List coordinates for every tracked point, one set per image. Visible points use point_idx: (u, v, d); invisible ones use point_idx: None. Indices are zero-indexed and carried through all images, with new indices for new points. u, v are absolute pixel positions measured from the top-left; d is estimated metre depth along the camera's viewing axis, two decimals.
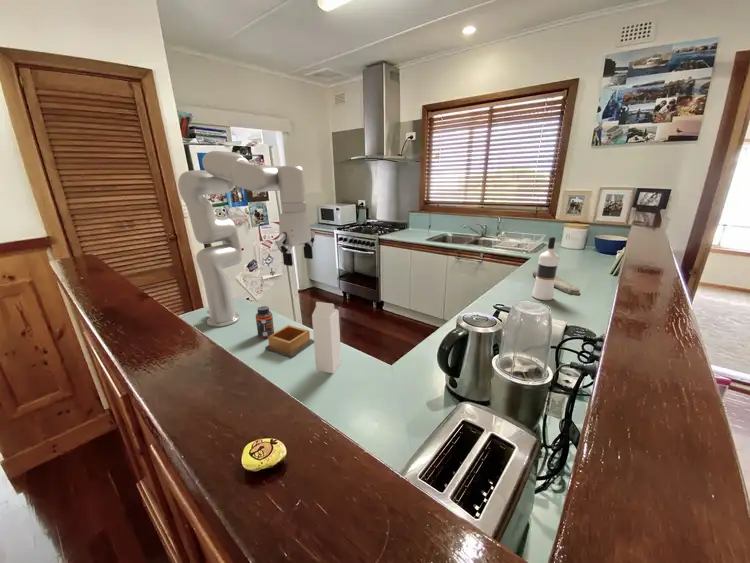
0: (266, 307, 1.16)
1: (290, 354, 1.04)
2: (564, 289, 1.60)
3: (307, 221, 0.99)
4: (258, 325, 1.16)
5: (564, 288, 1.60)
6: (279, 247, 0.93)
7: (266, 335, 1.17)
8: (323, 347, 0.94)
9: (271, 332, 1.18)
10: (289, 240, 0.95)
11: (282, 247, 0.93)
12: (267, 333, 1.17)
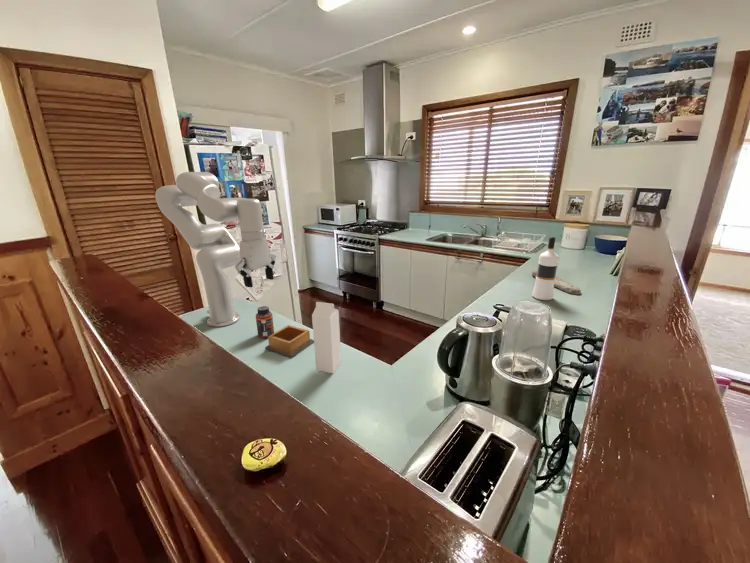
0: (266, 307, 1.16)
1: (290, 354, 1.04)
2: (565, 289, 1.60)
3: (266, 246, 1.10)
4: (258, 325, 1.16)
5: (565, 288, 1.60)
6: (239, 271, 1.04)
7: (266, 335, 1.17)
8: (323, 347, 0.94)
9: (271, 332, 1.18)
10: (248, 265, 1.05)
11: (241, 271, 1.04)
12: (267, 333, 1.17)
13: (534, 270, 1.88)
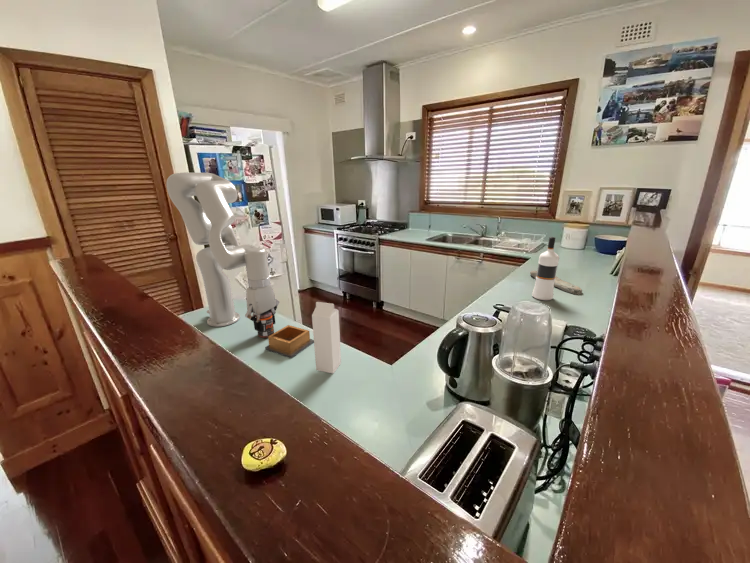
0: None
1: (290, 354, 1.04)
2: (567, 289, 1.60)
3: (271, 291, 1.16)
4: None
5: (567, 288, 1.60)
6: (249, 318, 1.11)
7: (266, 335, 1.17)
8: (323, 347, 0.94)
9: (271, 332, 1.18)
10: (256, 312, 1.11)
11: (252, 318, 1.11)
12: (267, 333, 1.17)
13: None
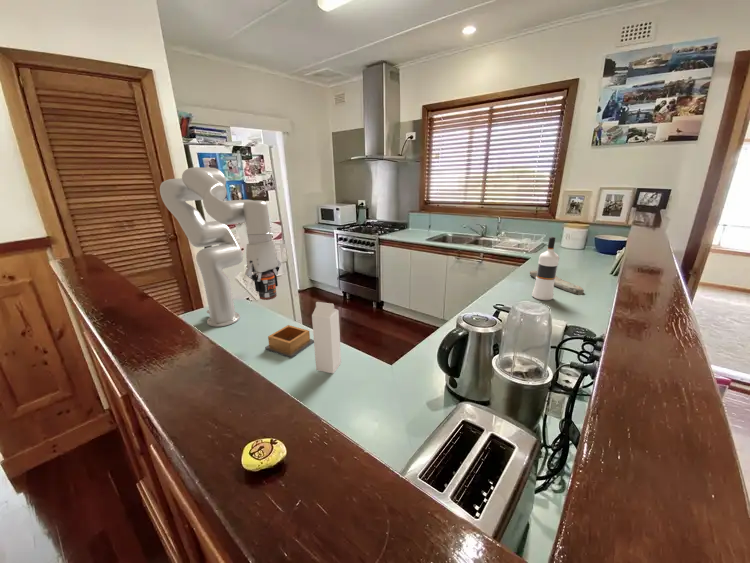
0: None
1: (290, 354, 1.04)
2: (569, 289, 1.60)
3: (273, 249, 1.08)
4: None
5: (569, 288, 1.60)
6: (250, 277, 1.04)
7: (268, 296, 1.09)
8: (323, 347, 0.94)
9: (273, 294, 1.10)
10: (256, 270, 1.04)
11: (253, 276, 1.04)
12: (269, 294, 1.09)
13: None
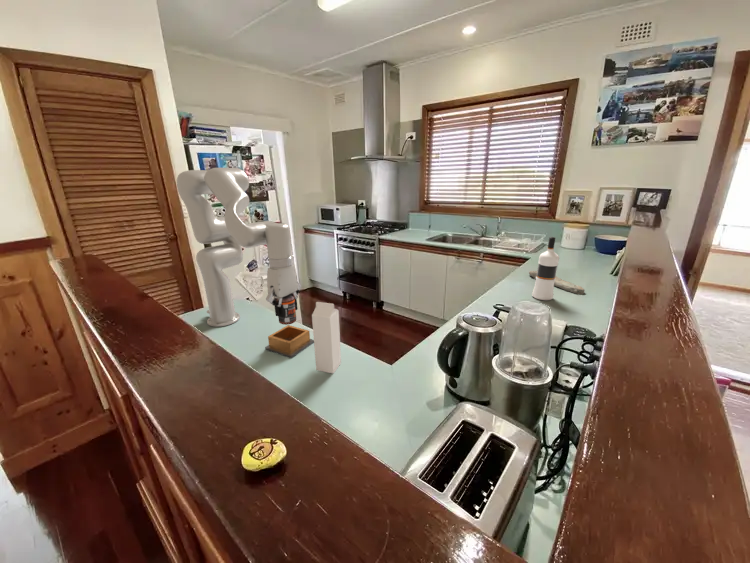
0: None
1: (290, 354, 1.04)
2: (570, 289, 1.60)
3: (294, 273, 1.05)
4: None
5: (569, 288, 1.60)
6: (271, 302, 1.00)
7: (288, 321, 1.05)
8: (323, 347, 0.94)
9: (293, 318, 1.06)
10: (277, 295, 1.00)
11: (273, 301, 1.00)
12: (290, 319, 1.05)
13: None
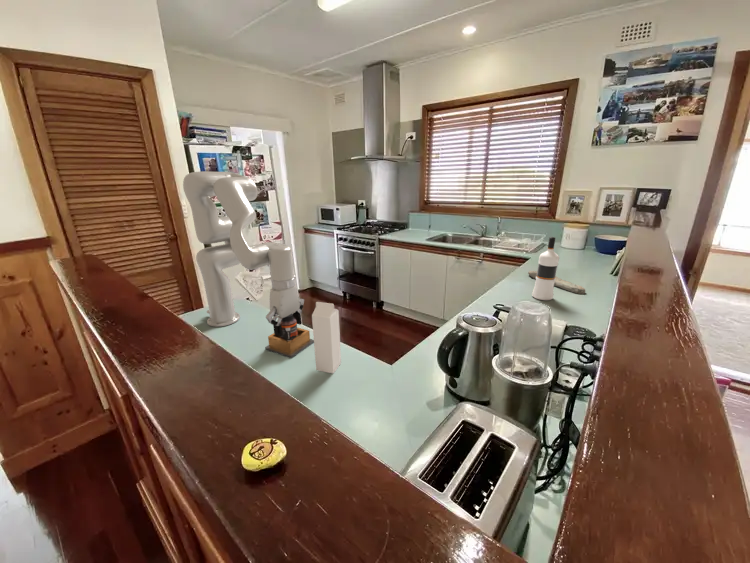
0: None
1: (290, 354, 1.04)
2: (571, 289, 1.60)
3: (296, 293, 1.07)
4: (282, 333, 1.07)
5: (570, 288, 1.60)
6: (269, 321, 1.01)
7: None
8: (323, 347, 0.94)
9: None
10: (279, 314, 1.02)
11: (272, 321, 1.01)
12: None
13: None
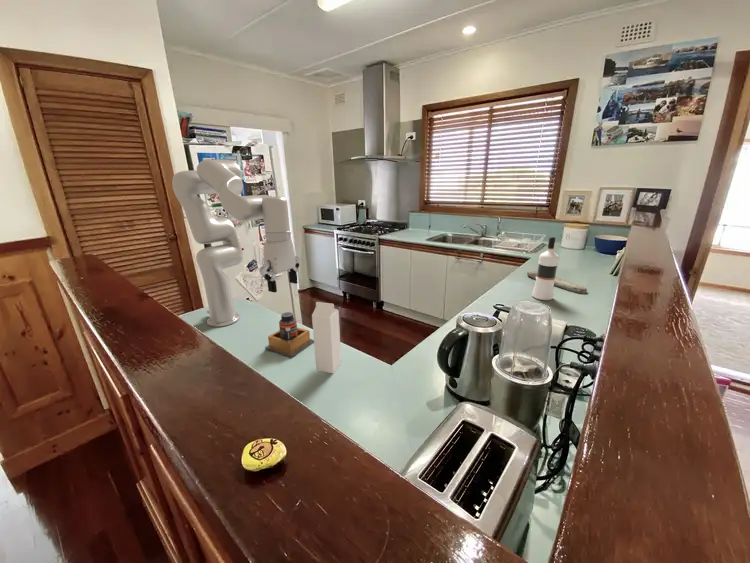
0: (290, 313, 1.08)
1: (290, 354, 1.04)
2: (572, 289, 1.60)
3: (291, 248, 1.02)
4: (282, 333, 1.07)
5: (572, 288, 1.60)
6: (263, 275, 0.96)
7: None
8: (323, 347, 0.94)
9: None
10: (273, 268, 0.97)
11: (266, 275, 0.96)
12: None
13: (529, 271, 1.87)
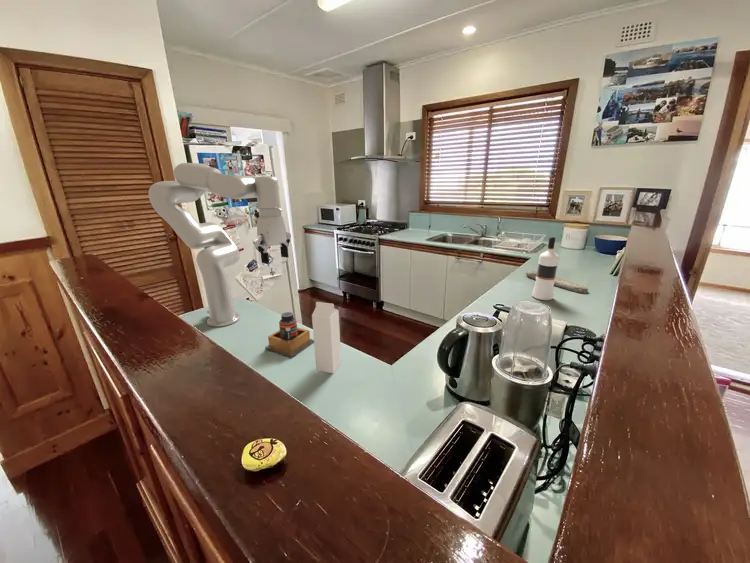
0: (290, 313, 1.08)
1: (290, 354, 1.04)
2: (574, 289, 1.60)
3: (282, 224, 1.13)
4: (282, 333, 1.07)
5: (574, 288, 1.60)
6: (256, 247, 1.07)
7: None
8: (323, 347, 0.94)
9: None
10: (265, 241, 1.08)
11: (259, 247, 1.07)
12: None
13: (527, 271, 1.86)
